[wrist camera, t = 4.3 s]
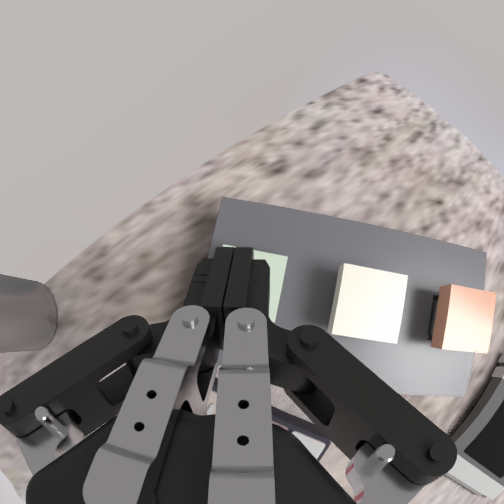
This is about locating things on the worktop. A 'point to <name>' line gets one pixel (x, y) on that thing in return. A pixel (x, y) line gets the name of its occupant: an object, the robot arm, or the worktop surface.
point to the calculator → (288, 426)
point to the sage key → (273, 277)
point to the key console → (366, 255)
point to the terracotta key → (462, 319)
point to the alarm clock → (483, 441)
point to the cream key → (368, 303)
